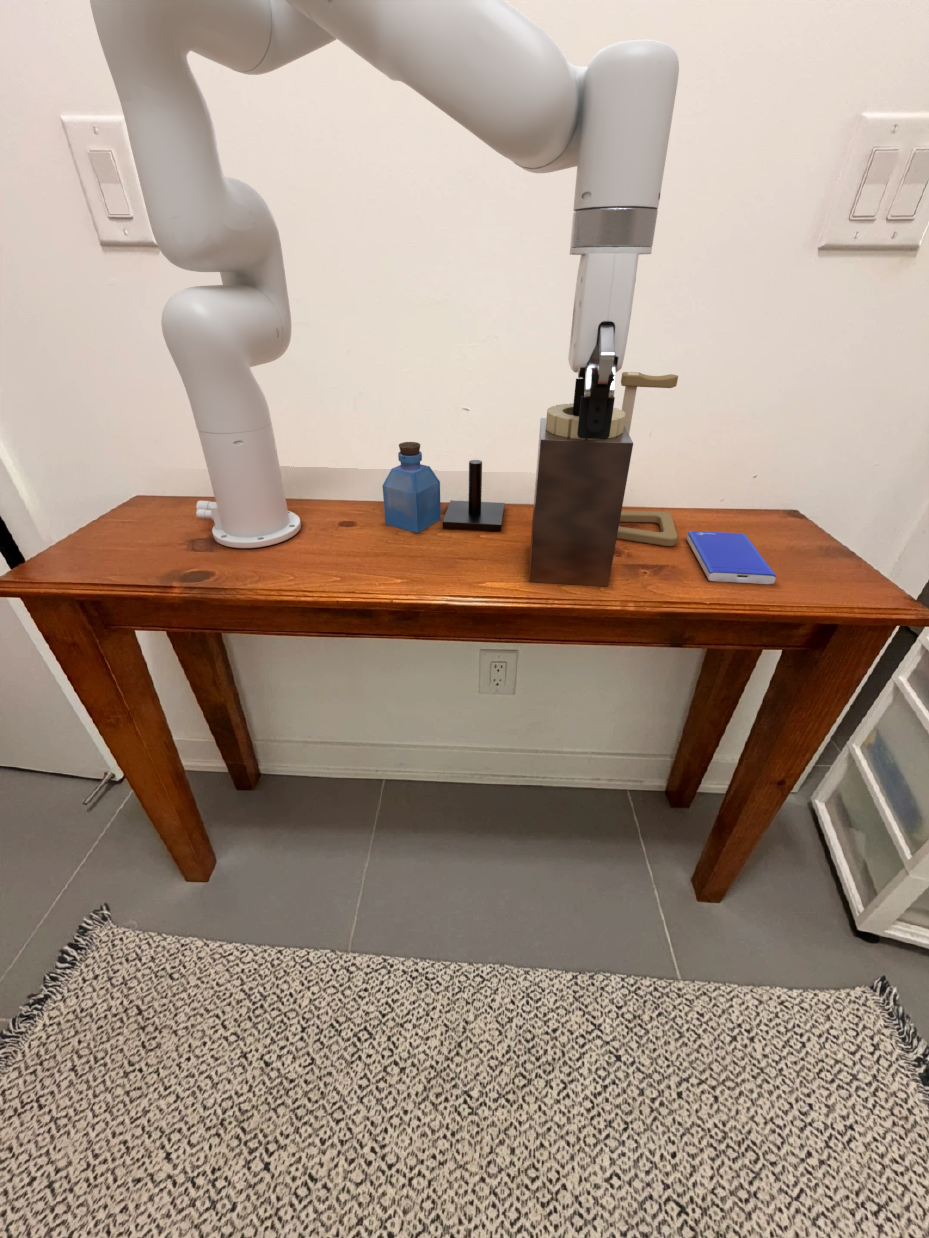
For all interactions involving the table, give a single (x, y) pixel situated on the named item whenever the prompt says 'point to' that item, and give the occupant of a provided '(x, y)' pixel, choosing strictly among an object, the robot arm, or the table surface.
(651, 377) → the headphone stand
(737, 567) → the hard drive
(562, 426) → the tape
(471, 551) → the table surface
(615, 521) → the stand box
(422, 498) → the perfume bottle
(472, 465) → the post
